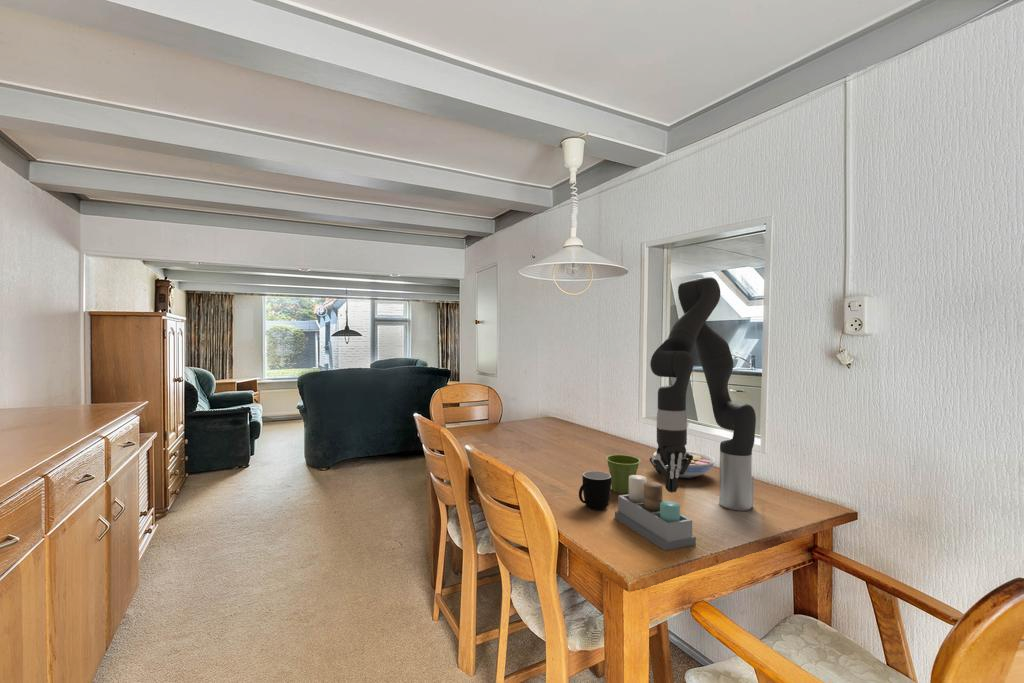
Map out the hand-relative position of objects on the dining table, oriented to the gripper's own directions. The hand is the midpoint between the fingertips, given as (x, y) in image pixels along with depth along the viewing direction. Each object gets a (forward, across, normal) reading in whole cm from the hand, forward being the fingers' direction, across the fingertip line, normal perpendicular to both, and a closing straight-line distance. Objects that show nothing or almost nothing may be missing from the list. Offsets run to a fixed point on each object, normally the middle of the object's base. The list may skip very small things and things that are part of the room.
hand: (671, 491), depth 119 cm
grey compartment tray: (+13, 0, -7) cm, 15 cm away
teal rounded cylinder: (+10, 0, 0) cm, 10 cm away
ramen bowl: (+14, -44, -44) cm, 64 cm away
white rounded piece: (+7, 0, -14) cm, 16 cm away
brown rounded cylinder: (+7, 0, -7) cm, 10 cm away
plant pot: (+14, -11, -37) cm, 41 cm away
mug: (+13, +7, -27) cm, 31 cm away
